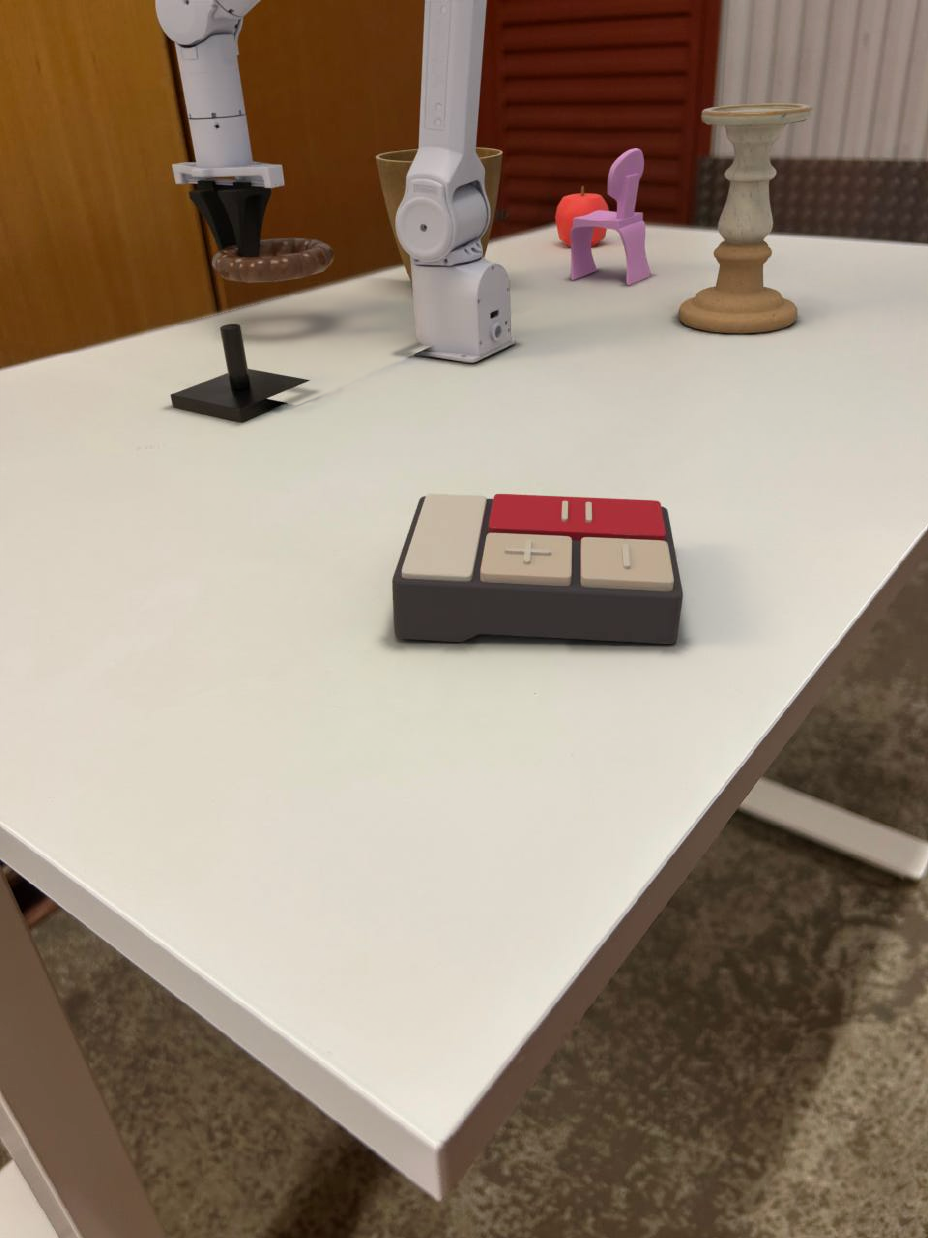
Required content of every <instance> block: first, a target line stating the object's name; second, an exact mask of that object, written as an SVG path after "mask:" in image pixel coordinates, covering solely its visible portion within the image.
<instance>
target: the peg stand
mask: <svg viewBox="0 0 928 1238" xmlns="http://www.w3.org/2000/svg"><path fill="white" fill-rule="evenodd" d="M219 331H220V335H221V342H222V347H223V352H224V358H225V363H226V369H227V373H224V374H222V375H219V376H216V377H214V378H211V379H208V380H205V381H203V382H200V383H197V384H195V385H192V386H190V387H187V388H184V389H181V390H179V391H176V392H174V393H170V399H171V404H172V407H173V408H177V409H181V410H186V411H189V412H194V413H199V414H203V415H206V416H207V415H208V416H213V417H216V418H221V419H225V420H228V421H229V420H230V421H234V422H239V423H244V422H245V421H248V420H250V419H253V418H255V417H257V416H260V415H262V414H265V413H266V412H269V411H271V410H274V409H276V408H278V407H281V406H284V405H285V404H287V402H286V401H282V400H281V401H280V400H277V399H271V397H274V396H276V395H278V394H281V393H283V392H287V391H288V390H291V389H293V388H296V387H298V386H301V385H303V384H305V383H307V382H310V381H311V379H307V378H301V377H295V376H291V375H285V374H279V373H273V372H269V371H264V370H263V371H262V370H257V369H253V368H252V369H251V368H248V362H247V355H246V349H245V344H244V337H243V332H242V326H241V325H240V324H238V323H227V324H224V325H221V326H220V327H219Z"/></svg>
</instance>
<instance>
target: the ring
mask: <svg viewBox="0 0 928 1238" xmlns="http://www.w3.org/2000/svg"><path fill="white" fill-rule="evenodd" d="M334 259H335V253H334V250H333V248H332V246H330V245H329V244H327V243H326V242H324V241H322V240H319V239H314V238H304V237H303V238H302V237H286V238H285V237H283V238H267V239H260V252H259V257H240V255H239V252H238V248H237V245H233V246H229V247H226V248H224V249H223V250H221V251H218V252H217V253H215V254H214V255H213V257H212V260H211V266H212V269H213V270H214V272H215V273H216V274H217V275H218V276H220V277H221V278H223V279H224V280H226V281H231V282H239V283H249V284H250V283H275V282H277V283H278V282H283V281H290V280H297V279H303V278H306V277H309V276H312V275H313V276H314V275H316V274H320V273H322V272H324V271H325V270H327V268H329V266H331V264H332V263H333V262H334Z"/></svg>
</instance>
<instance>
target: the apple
mask: <svg viewBox="0 0 928 1238" xmlns="http://www.w3.org/2000/svg"><path fill="white" fill-rule="evenodd" d="M580 186H581V185H580ZM598 210H602V211H610V210H609V204H608V203H607V202H606V200H605V198H604V197H603V195H601V194H598V193H591V192H590V193H587V192H585V186H584V185H582V186H581V187H580V193H573V194H568V195H565V196H562V198H561V199H560V201H559V202H558V204H557V206H556V211H555V215H554V219H555V225H556V230H557V234H558V236H557V237H558V239H559V240H560V241H562V242H563V243H564V244H566V245H567V246H568V247H569V248H571V242H570V230H571V228H572V227H573V218H576V217H580V216H585V215H588V214H590V213H592V212H594V211H598ZM607 231H608V229H607V228H602V227H595V228H594V231H593V234H592V239H591V248H592V247H594V246H596V245H597V244H598V243H600V242H601V241H602V240H604V239H605V238H606V235H607Z"/></svg>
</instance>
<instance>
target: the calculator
mask: <svg viewBox="0 0 928 1238" xmlns="http://www.w3.org/2000/svg"><path fill="white" fill-rule="evenodd" d="M673 538H674V537H673V531H672V526H671V521H670V516H669V511H668V509H667V507H664V506H662V503H661V502H660V500H655V499H632V498H612V497H611V498H608V497H589V496H586V497H585V496H584V497H583V496H563V495H562V496H561V495H560V496H559V495H540V494H539V495H538V494H513V493H496V494H494V495H493V498H487V497H486V496H485V495H473V494H472V495H471V494H470V495H469V494H445V493H428V494H426V495H424V496H422V497H420V498H419V500H418V502H417V505H416V509H415V511H414V513H413V517H412V519H411V523H410V525H409V528H408V531H407V534H406V538H405V541H404V543H403V546H402V549H401V553H400V555H399V558H398V562H397V564H396V566H395V570H394V573H393V577H392V580H391V587H392V611H393V612H392V613H393V628H394V629H393V630H394V631H393V632H394V636H395V637H396V638H398V639H401V640H415V641H432V642H434V641H435V642H451V643H454V642H455V643H463V642H465V641H467V640H469V639H472V638H473V637H475V636H478V635H496V636H515V637H529V638H530V637H531V638H532V637H533V638H534V637H535V638H551V639H569V640H587V641H605V642H623V643H639V644H640V643H641V644H642V643H643V644H658V645H660V644H661V645H673V644H674V643H676V642H677V640H678V634H679V628H680V620H681V614H682V606H683V599H684V593H683V586H682V582H681V577H680V576H681V575H680V571H679V565H678V560H677V553H676V549H675V543H674V540H673Z"/></svg>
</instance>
